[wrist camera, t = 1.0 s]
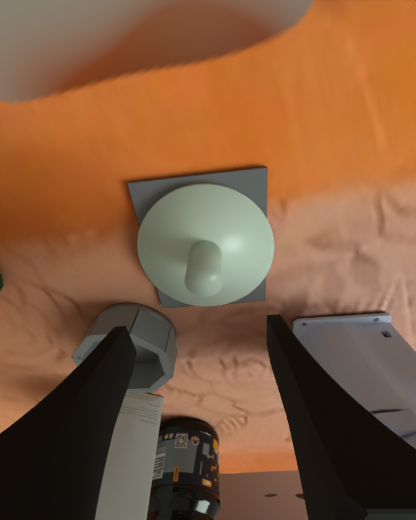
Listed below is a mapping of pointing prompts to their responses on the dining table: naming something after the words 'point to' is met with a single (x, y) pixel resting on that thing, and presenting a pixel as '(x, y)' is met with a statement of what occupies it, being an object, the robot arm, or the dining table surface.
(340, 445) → the robot arm
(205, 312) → the dining table surface
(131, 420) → the skincare box
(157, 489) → the supplement container
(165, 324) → the bowl
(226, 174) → the mat
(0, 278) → the character mug
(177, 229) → the lid
